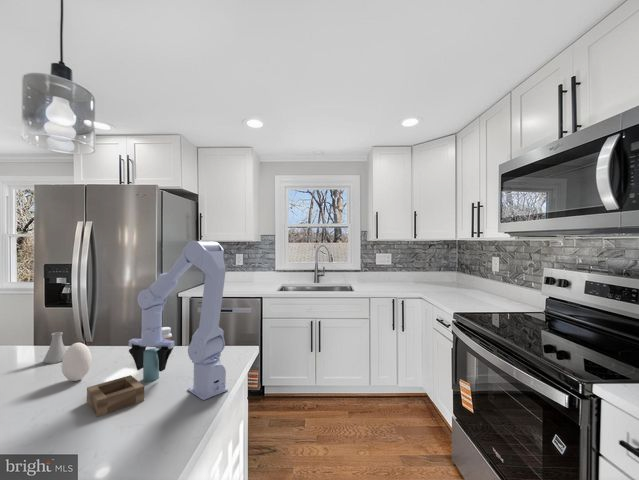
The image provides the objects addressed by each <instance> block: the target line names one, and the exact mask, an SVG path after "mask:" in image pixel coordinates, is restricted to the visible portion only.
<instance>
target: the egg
mask: <svg viewBox="0 0 639 480" xmlns="http://www.w3.org/2000/svg"><path fill="white" fill-rule="evenodd" d="M91 367H92V353H91V351H90V349H89V347H88V346H87V345H86V344H84V343H83V342H75V343H73V344H71V345H70V346H69V347H68V348H67V350H66V353H65V355H64V357H63V360H62V361H61V372H62V374H63V376H64V378H65V379H67V380H68V381H71V382H78V381H79V380H82V379H84V377H85V376H86V375H87V374H88V373H89V371H90V369H91Z"/></svg>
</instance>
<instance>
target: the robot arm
mask: <svg viewBox="0 0 639 480" xmlns="http://www.w3.org/2000/svg"><path fill="white" fill-rule="evenodd" d="M181 251H182V253H181V255H180V256H179V257H178V258H177V260H176V261H175V263H174V264H173V265H172V267H171V268H170V269H169V271H168V272H163V273H159V274H158V275H157V278H156V280H155V281H153V283H152V284H150V285H149V287H148V288H147V289H143V290H140V291H139V293H138V295H137V304H138V306H139V308H141V337H140V338H131V339H130V340H128V347H131V348H129V349H128V353H129V354H130V355H131V357H132V359H133V361H134V363H135V366H136V367H135V368H136V370H137V371H140V370H142V369H143V356H144V351H145V350H147V347H148V348H156V347H161V349H159V350H157V355H158V359H159V373H161V372H163V371H165V370H166V367H167V363H168V361H169V358H170V355H171V354H172V352H173V350H174V348H175V340H172V341H171V340H166V339H162V327H163V311H164V308H165V304H166V302H167V300H168V295H169V294H171V292H173V290H174V289H175V288H176V287H177V285H178V283H179V282H178V279H179V278H180V277H181V276H183V274H184V273H186V271H188V270H189V269H190V268H191V267H192V266H193V265H194V266H195V267H197V268H198V269H199V270H201V271H202V273H204V275H205V277H204V284H203V292H202V298H201V299H202V301H201V306H200V308H201V309H200V317H199V323H198V328H197V329H196V331H194V333H193V334H192V336H191V341H190V344H189V345H188V348H187V356H188V357H189V360H190V361H191V363H193V385H192V386H189V387H187V390H188V391H189V392H190V393H191V394H192V395H195V396H196V397H198V398H199V399H201V400H202V401H203V400H208V399H210V398H213V397H215V396H218V395H221V394H222V393H225V392H227V391H228V390H229V388H228V387H226V381H227V379H226V374H227V373H226V372H227V371H226V367H225V366H224V365H223V364H222V363H221V360H220V359H221V358H220V357H221V356H222V352H223V351H224V349H225V346H226V342H225V337H224V334H225V331H224V330H223V329H222V328H221V327H220V321H221V320H220V319H221V310H222V304H223V303H222V302H223V295H224V287H225V278H226V273H227V272H226V263H225V260H224V254H225V250H224V248H223V247H222V245H221V244H220V243H218V242H217V241H215V240H212V241H209V240H207V241H202V240H201V241H199V240H191V241H189V242H188V243H186V245H185V246H184V247H183V248H182V250H181ZM171 351H172V352H171ZM170 353H171V354H170Z"/></svg>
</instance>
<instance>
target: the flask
mask: <svg viewBox="0 0 639 480" xmlns="http://www.w3.org/2000/svg"><path fill="white" fill-rule="evenodd" d="M63 334H64V333H63V332H62V331H56V332H53V333H51V334H50V336H51V342H50V345H49V347H48V350H47V352H46V354H45V356H44V358H43V361H42V363H44V364H56V363H60V362H61V363H62V360H63V357H64V355H65V353H66V351H67V350H66V347H65V344H64V342H63Z"/></svg>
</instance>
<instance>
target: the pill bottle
mask: <svg viewBox="0 0 639 480" xmlns="http://www.w3.org/2000/svg"><path fill="white" fill-rule="evenodd" d="M171 329H172V328H171V327H170V326H164V327H163V326H162V339H166V340H171V341H173V335H172V334H173V333H171V331H172V330H171ZM155 348H158V349H161V347H155ZM172 352H173V350H172V351H171V353H170V355H171V354H172Z"/></svg>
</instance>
